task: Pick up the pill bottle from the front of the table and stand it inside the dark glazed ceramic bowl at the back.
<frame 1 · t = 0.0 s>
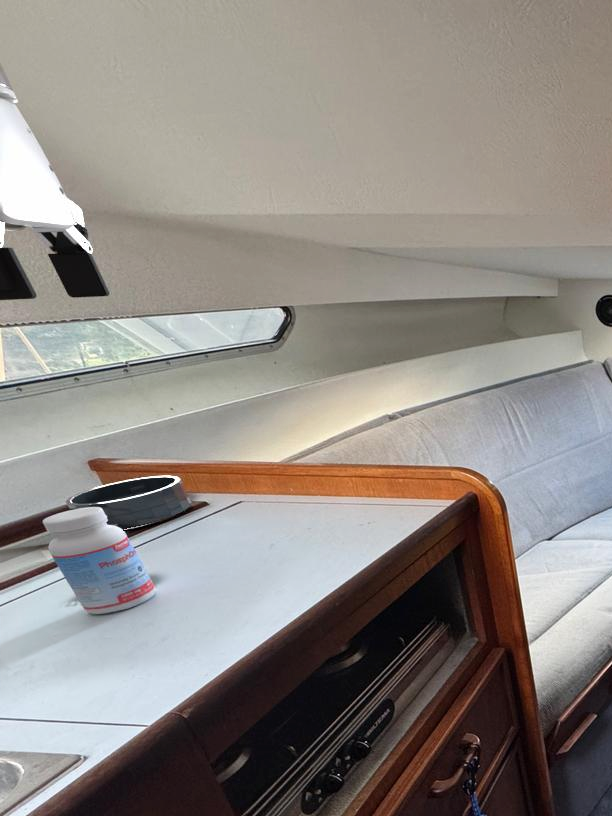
hand: (54, 298, 53), 33 cm above the worktop, tool pointing down, fingers open, 9 cm apart
pill bottle: (124, 603, 66), on the worktop
bowl: (140, 518, 91), on the worktop
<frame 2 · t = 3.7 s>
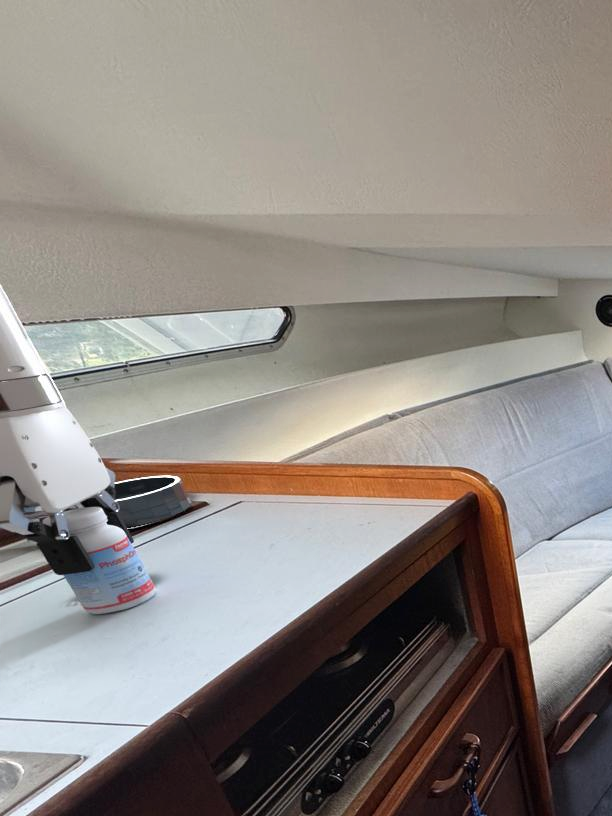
hand: (97, 557, 63), 6 cm above the worktop, tool pointing down, fingers closed on pill bottle, 6 cm apart
pill bottle: (124, 603, 66), on the worktop, touching gripper
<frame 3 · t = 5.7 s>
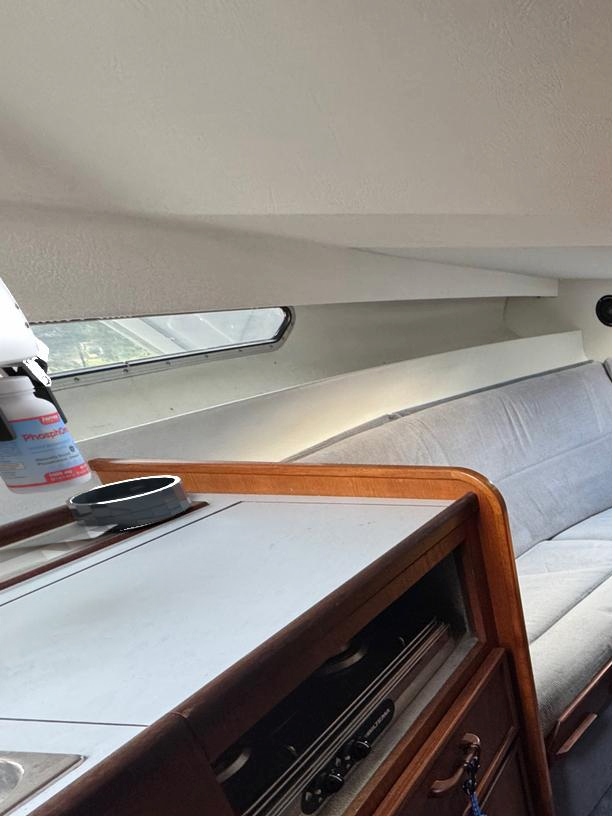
hand: (22, 431, 58), 20 cm above the worktop, tool pointing down, fingers closed on pill bottle, 6 cm apart
pill bottle: (55, 487, 61), point 14 cm above the worktop, touching gripper
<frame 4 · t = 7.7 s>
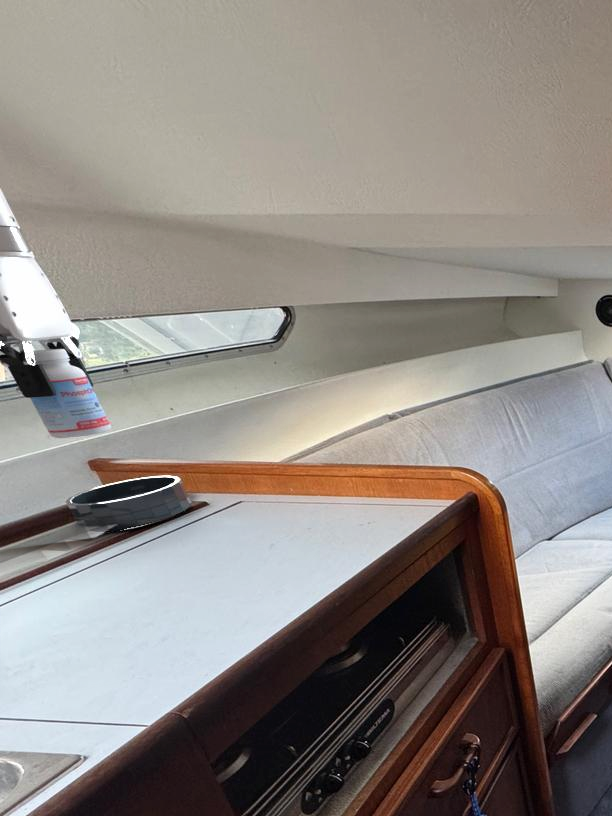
hand: (60, 390, 77), 21 cm above the worktop, tool pointing down, fingers closed on pill bottle, 6 cm apart
pill bottle: (84, 435, 80), point 15 cm above the worktop, touching gripper
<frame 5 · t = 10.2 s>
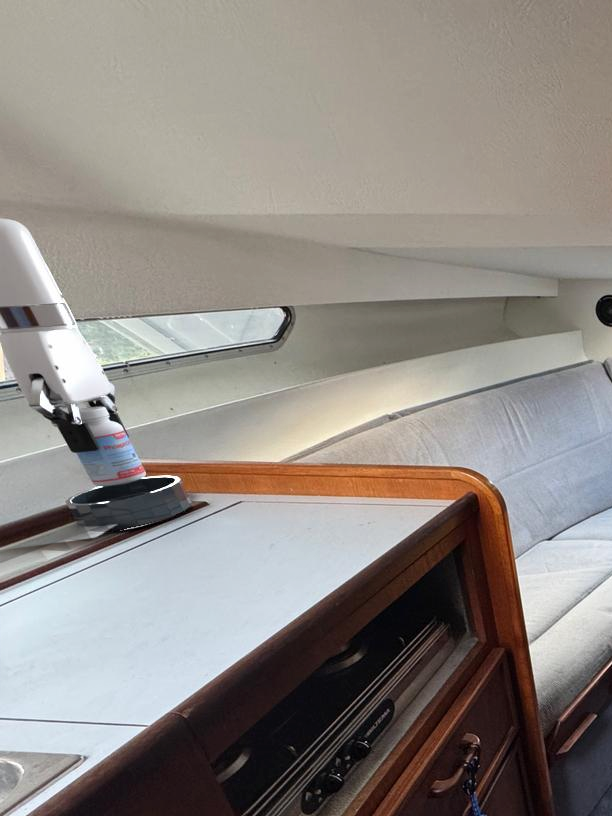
hand: (101, 444, 86), 12 cm above the worktop, tool pointing down, fingers closed on pill bottle, 6 cm apart
pill bottle: (122, 482, 88), point 6 cm above the worktop, touching gripper
when the fingers open (7 cm above the worktop, at t = 12.1 s): pill bottle stays where it is, resting on bowl.
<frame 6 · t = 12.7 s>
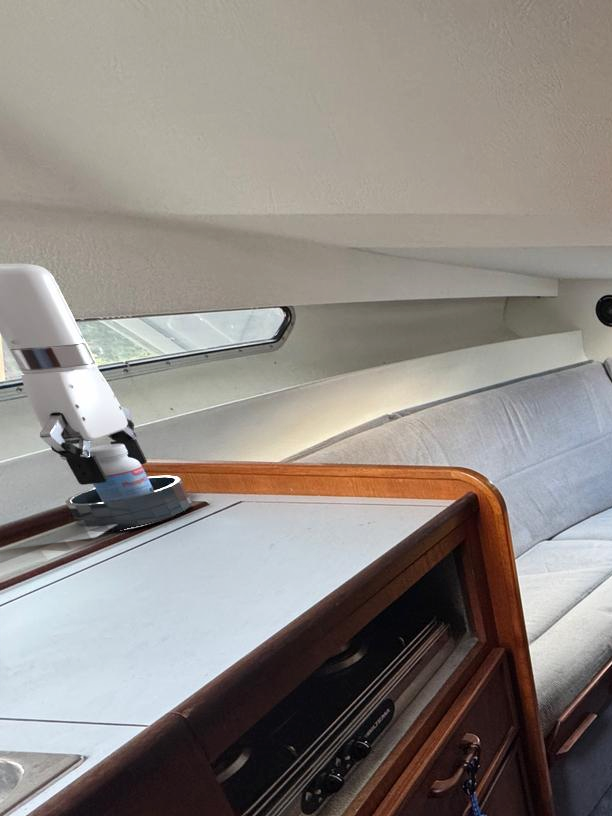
hand: (115, 473, 88), 8 cm above the worktop, tool pointing down, fingers open, 9 cm apart
pill bottle: (139, 516, 91), resting on bowl
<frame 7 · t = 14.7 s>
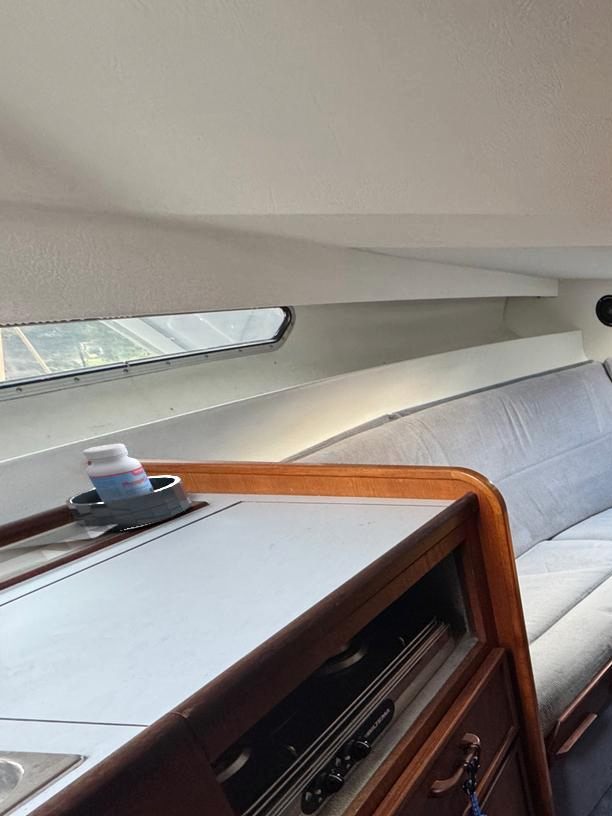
nothing on the worktop moved.
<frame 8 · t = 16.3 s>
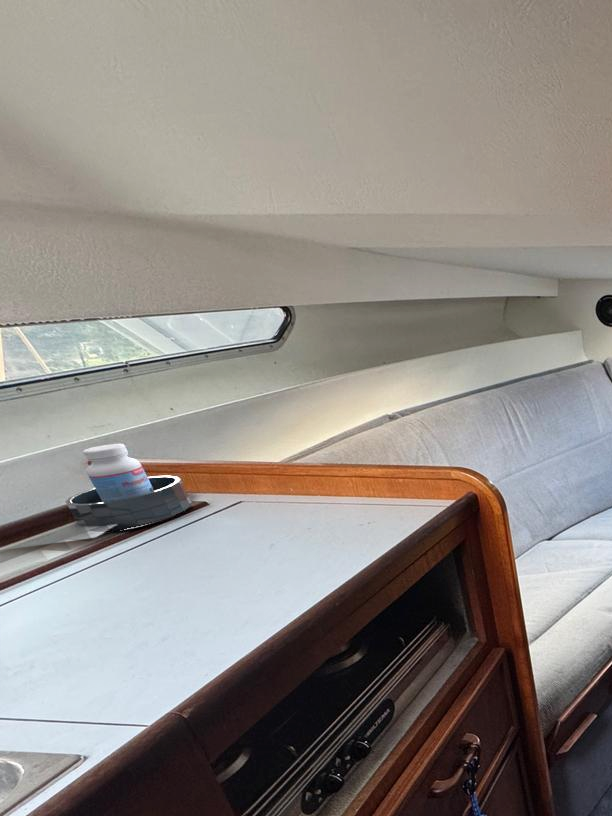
nothing on the worktop moved.
at the end: pill bottle 0.0 cm off-centre in the bowl, point 0.4 cm above the bowl's base; pill bottle tilted 0°; the gripper is holding nothing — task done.
